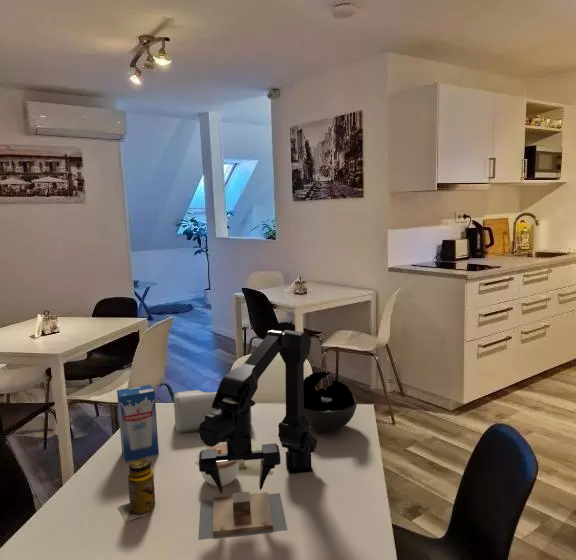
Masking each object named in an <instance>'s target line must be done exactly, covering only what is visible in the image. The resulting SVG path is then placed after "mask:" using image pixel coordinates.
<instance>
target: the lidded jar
mask: <svg viewBox="0 0 576 560" xmlns="http://www.w3.org/2000/svg"><path fill="white" fill-rule="evenodd" d="M207 449H216V454H225V453H227V445H218V446H217V445H215V446H213V447H208V448H207ZM219 470H220V475H221V481H222V487H224V486H228V485H229V484H230V483H232V482H233V481H234V480H235V479H236V477H237V476H238V473H239V470H240V461H234V462H223V463H219ZM200 473H201V475H202V478H203V479H204V481H206V483H207V484H209V485H211V486H212V487H217V485H216V483H215V481H214V480H213V478H212V477H211V476H210V475H206V474H205V472H200Z"/></svg>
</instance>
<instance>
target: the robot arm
mask: <svg viewBox="0 0 576 560" xmlns="http://www.w3.org/2000/svg"><path fill="white" fill-rule="evenodd" d="M311 346H312V340H311V336H310V335H309V334H308V333H307V332H306V331H305V332H302V331H296V330H289V329H285V330H276V329H271V330H268V331H267V332H266V333H265V337H264V339H263V340H262V341H261V342H260V343H259V345H258V346H257V347H256V348H255V349H254V351H253V352H252V353H251V354H250V356H249V357H248V358H247V359H246V360H245V361H244V363H243V364H242V365H240V366H238V367H236V368H233V369H231V370H230V371H229V372H228V373H226V374H225V376H223V378H221V381H220V382H219V385H218V388H217V390H216V392H217V393H216V396H215V398H214V401H213V403H212V406H211V407H212V408H214V409H217V410H216V411H214V412H213V413H209V414H207V415H205V421H203V422H202V423H201V424H200V427H199V429H198V431H197V432H198V436H199V439H200V440H201V442H202V443H203V444H204V445H205V446H207V447H208V448H211V447H215V446H217V445H219V444H220V443H226V446H227V453H225V454H216V449H208V448H206V449H201V450H200V452H199V455H198V467H199V470H198V471H199V472H200V473H201V472H205V474H206V475H210V476H211V477H212V478H213V480H214V481H215V483H216V485H217V486H216V487H217V489H218V491H219V493H220V494H224V492H223V486H222V481H221V475H220V470H219V463H223V462H234V461H239V462H243V461H254V460H260V468H259V469H260V471H259V480H258V481H259V482H258V486H259V490H260V491H261V490H262V489H263V487H264V484H265V482H266V479H267V476H268V475H269V474H270V472H271V470H272V469H275V468H276V466H280V465H281V462H282V461H281V452H280V449H279V445H278V444H277V443H276V442H275V443H265V444H264V443H263V444H261V450H260V449H259V450H253V449H252V425H251V423H252V422H251V423H250V407H251V408H252V407H253V406H255V405H256V402H255V401H254V400H253V397H254V395H255V394H256V392H257V390H258V388H259V380H260V378H261V376H262V375H263V374H264V372H265V371H266V369H267V368H268V367H269V366H270V365H271V363H272V362H273V360H275V358H276V357H277V356H278V354H279V355H280V357H281V359H282V361H283V363H284V364H285V365H284V367H285V368H284V369H285V373H284V374H285V416H284V418H283V419H282V420H281V422H279V423H278V435H277V438H278V439H279V441H280V444H281V447H282V448H284V449H287V450H286V451H285V466H286V469H287V470H288V472H289V473H288V474H290V475H293V474H295V475H296V474H304V473H306V474H307V473H312V472H314V470H313V467H312V454H313V453H315V451H316V448H317V446H318V445H317V444H318V440H317V438H315V436H314V435H313V434H312V433H311V427H310V424H309V422H308V421H307V419H306V417H305V415H304V379H305V371H304V370H305V366H304V365H305V362H306V361H307V359H308V357H309V355H310V352H311ZM223 399H226V400H230V401H234V403H232V404H231V403H228V402H224V401H223Z"/></svg>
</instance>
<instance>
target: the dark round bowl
mask: <svg viewBox="0 0 576 560" xmlns="http://www.w3.org/2000/svg"><path fill="white" fill-rule="evenodd" d="M330 374H331V372H325V371H320V372H318V371H317V372H314V373H310V374H309V376H305V377H304V415H305V417H306V419H307V421H308V422H309V424H310V429H313V430H316V431H317V432H324V433H327V432H329V433H331V432H334V431H337V430H340V429H343V428H344V427H345V426H346V425H348V423H350V421H351V420H352V418H353V416H354V415H355V413H356V409H357V406H358V405H357V404H358V400H357V398H356V397H355V396H354V394H353V392H352V391H351V390H350V389H349V387H348V386H347V385H346V384H344V383H342V382H341V381H338V380H332V381H331V384H330V385H328V386H327V387H326V388H324V387H319V388H318V389H317V385H318V384H319V382H321V380H322V379H324V378H326V377H327V376H328V375H330Z"/></svg>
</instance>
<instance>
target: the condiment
mask: <svg viewBox="0 0 576 560" xmlns="http://www.w3.org/2000/svg"><path fill="white" fill-rule="evenodd" d="M152 468H153V467H152V462H151V460H150V459H148V458H141V459H136V460H133V461H130V463H129V465H128V475H127V482H128V485H127V486H128V494H129V495H128V497H129V502H128V503H125V504H121V505H118V506H117V507H118V509H119V511H120V514H121V515H122V517H123V519H124V520H125V522H126V523H128V522H130V521H133V520H135V519H139V518H141V517H145V516H147V515H148V516H149V515H150V514H152V511H153V509H154V507H155V505H156V493H155V491H156V490H155V481H154V479H155V478H154V477H155V475H154V471H153V469H152Z"/></svg>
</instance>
